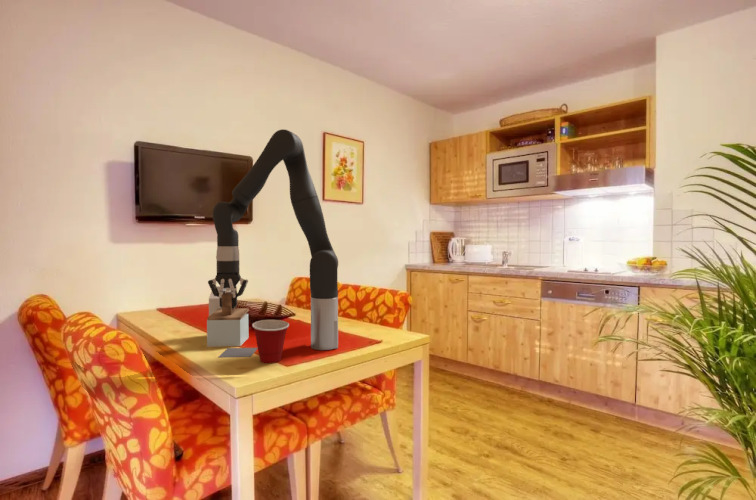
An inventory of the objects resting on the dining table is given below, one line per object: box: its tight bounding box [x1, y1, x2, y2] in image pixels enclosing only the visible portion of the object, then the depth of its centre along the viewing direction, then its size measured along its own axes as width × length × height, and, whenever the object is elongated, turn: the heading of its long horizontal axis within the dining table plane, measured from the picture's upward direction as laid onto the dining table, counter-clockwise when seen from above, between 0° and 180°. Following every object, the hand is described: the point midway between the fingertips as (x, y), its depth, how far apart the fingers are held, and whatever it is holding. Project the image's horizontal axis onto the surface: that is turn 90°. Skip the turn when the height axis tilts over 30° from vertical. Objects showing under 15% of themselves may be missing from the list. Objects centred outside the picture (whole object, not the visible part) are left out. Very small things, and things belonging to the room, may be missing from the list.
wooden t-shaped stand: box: [206, 292, 250, 321], centre depth 139 cm, size 11×11×8 cm
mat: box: [217, 347, 258, 358], centre depth 127 cm, size 10×10×1 cm
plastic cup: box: [251, 319, 290, 364], centre depth 119 cm, size 11×11×12 cm
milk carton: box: [208, 285, 231, 317], centre depth 149 cm, size 7×7×19 cm
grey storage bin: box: [206, 313, 250, 348], centre depth 140 cm, size 11×11×10 cm
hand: (228, 307), depth 139 cm, fingers closed on wooden t-shaped stand, 3 cm apart
